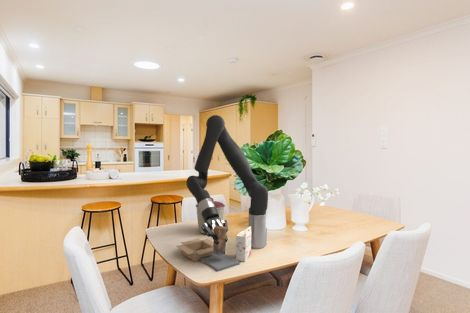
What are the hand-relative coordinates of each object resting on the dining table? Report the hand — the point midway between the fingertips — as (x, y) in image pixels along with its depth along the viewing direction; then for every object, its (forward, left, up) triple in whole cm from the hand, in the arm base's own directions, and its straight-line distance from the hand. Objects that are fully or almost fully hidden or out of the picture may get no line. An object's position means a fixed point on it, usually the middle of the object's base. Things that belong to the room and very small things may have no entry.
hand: (222, 242), depth 123 cm
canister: (-20, -40, -10) cm, 46 cm away
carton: (+3, -15, -10) cm, 18 cm away
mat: (0, -2, -10) cm, 10 cm away
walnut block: (0, -2, -6) cm, 6 cm away
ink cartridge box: (-12, +1, -10) cm, 16 cm away
